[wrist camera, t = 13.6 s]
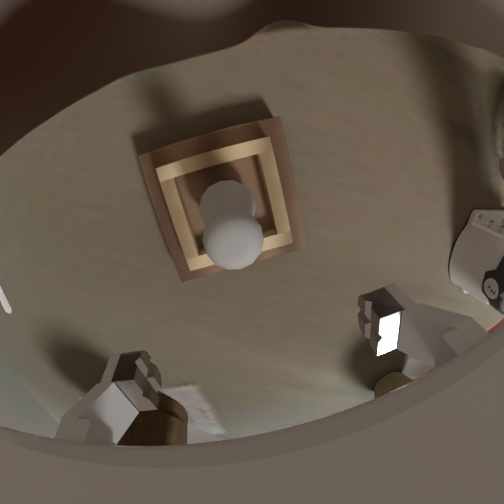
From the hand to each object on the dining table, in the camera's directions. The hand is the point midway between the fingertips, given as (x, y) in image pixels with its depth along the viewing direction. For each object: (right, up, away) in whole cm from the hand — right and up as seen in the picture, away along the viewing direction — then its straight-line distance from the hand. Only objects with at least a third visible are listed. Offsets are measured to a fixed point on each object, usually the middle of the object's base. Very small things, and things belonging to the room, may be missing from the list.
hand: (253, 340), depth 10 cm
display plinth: (-3, +10, +23) cm, 26 cm away
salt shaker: (-3, +9, +21) cm, 23 cm away
